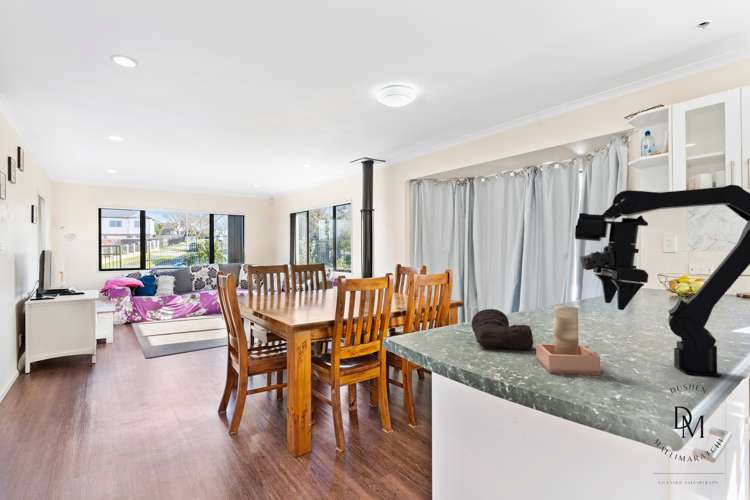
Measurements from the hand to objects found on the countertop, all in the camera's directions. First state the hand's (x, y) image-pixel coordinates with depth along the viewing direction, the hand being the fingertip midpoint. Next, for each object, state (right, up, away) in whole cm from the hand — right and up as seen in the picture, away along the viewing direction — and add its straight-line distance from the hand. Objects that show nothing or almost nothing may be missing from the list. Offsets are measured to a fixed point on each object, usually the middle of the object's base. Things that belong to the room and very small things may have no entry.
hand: (613, 306), depth 95 cm
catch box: (-14, -13, -5) cm, 20 cm away
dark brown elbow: (-23, -14, +16) cm, 31 cm away
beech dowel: (-14, -13, -5) cm, 20 cm away
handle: (-2, -14, +10) cm, 17 cm away
